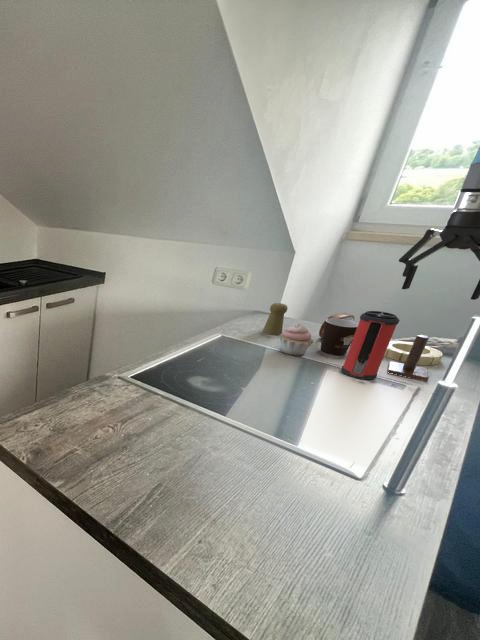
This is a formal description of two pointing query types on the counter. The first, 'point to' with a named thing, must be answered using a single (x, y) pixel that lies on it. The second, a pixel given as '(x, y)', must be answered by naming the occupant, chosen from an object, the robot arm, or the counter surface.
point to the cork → (275, 319)
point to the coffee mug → (337, 336)
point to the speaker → (369, 344)
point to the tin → (337, 316)
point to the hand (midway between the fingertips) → (437, 293)
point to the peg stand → (412, 362)
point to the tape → (402, 349)
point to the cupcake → (295, 340)
